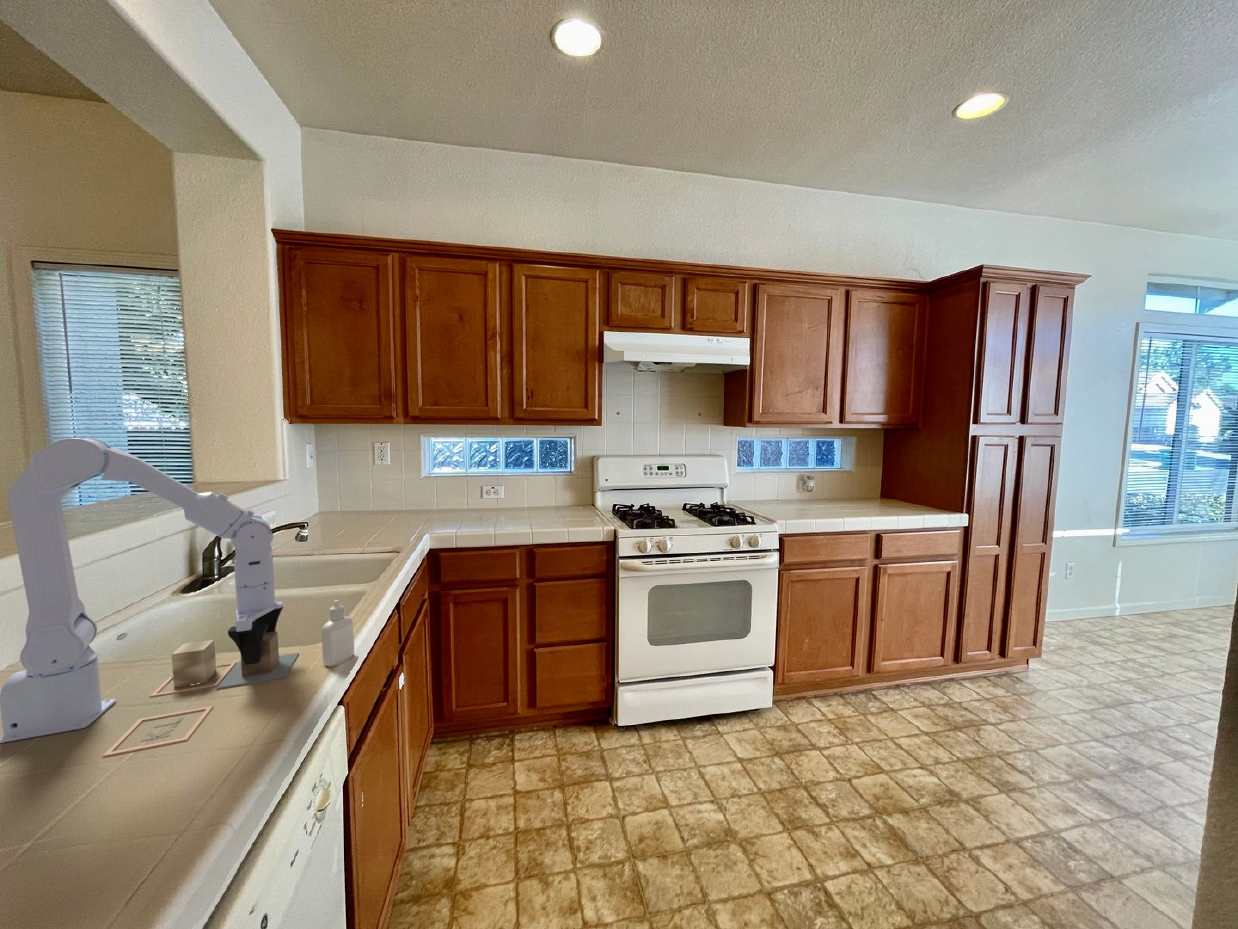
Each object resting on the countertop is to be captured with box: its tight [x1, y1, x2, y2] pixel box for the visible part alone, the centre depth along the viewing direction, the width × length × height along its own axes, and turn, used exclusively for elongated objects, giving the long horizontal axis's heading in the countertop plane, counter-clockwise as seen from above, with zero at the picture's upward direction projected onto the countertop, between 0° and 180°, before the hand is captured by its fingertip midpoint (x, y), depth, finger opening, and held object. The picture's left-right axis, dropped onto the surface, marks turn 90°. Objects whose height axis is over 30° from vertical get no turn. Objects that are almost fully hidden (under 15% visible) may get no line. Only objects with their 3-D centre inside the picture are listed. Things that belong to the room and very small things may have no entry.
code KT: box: [102, 705, 214, 758], centre depth 72 cm, size 9×9×1 cm
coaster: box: [216, 652, 300, 691], centre depth 90 cm, size 10×10×1 cm
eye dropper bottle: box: [321, 599, 355, 668], centre depth 93 cm, size 4×6×12 cm
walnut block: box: [240, 630, 280, 677], centre depth 90 cm, size 4×4×6 cm
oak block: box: [171, 639, 217, 688], centre depth 87 cm, size 4×4×6 cm
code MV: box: [149, 661, 237, 698], centre depth 87 cm, size 9×9×1 cm
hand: (259, 654), depth 89 cm, fingers open, 7 cm apart
